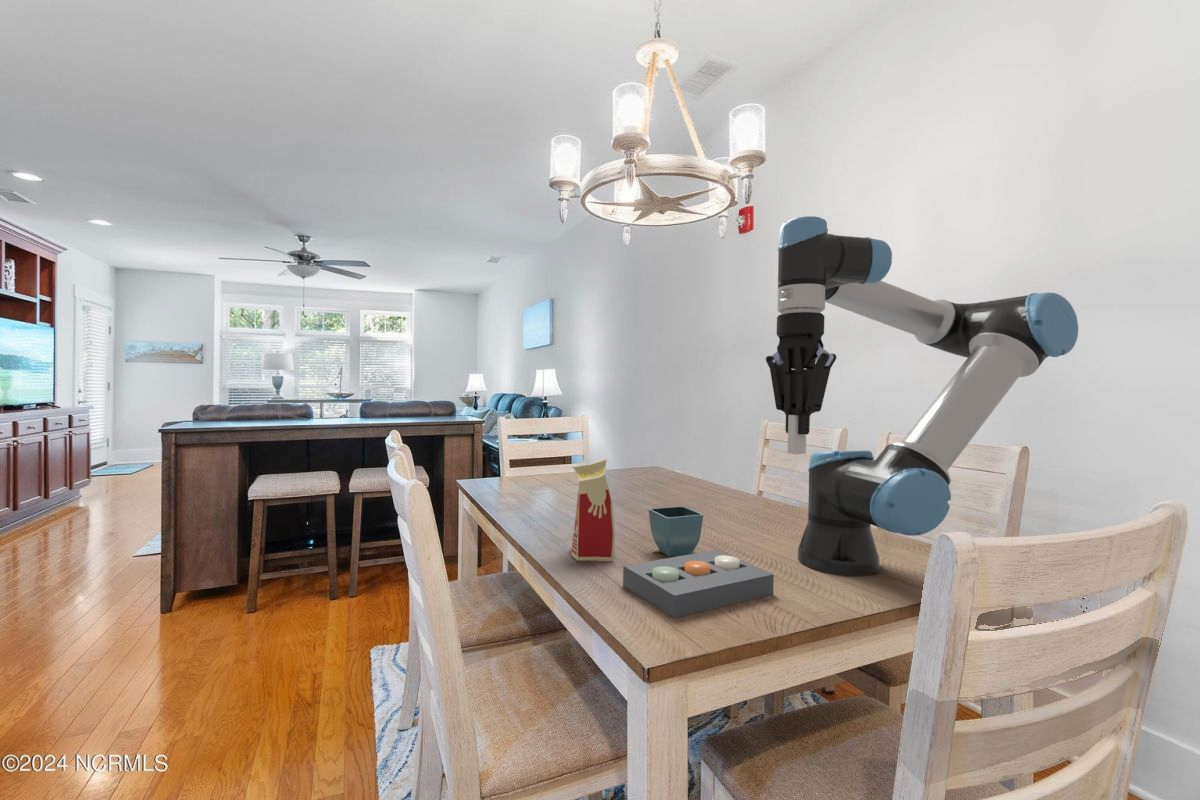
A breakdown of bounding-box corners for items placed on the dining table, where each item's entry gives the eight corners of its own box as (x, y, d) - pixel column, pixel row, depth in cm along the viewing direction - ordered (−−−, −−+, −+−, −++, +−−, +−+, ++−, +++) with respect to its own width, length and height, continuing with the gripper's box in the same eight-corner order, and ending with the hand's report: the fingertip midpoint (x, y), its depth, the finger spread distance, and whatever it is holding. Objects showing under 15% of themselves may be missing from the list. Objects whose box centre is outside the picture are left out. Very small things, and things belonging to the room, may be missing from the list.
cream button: (727, 568, 100) (728, 554, 100) (744, 575, 96) (745, 561, 96) (709, 571, 98) (709, 557, 98) (725, 579, 94) (726, 564, 94)
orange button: (698, 573, 97) (699, 559, 97) (715, 581, 93) (715, 566, 93) (679, 577, 95) (679, 562, 95) (695, 585, 91) (695, 570, 91)
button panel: (714, 567, 106) (715, 550, 106) (773, 594, 93) (773, 574, 92) (623, 585, 96) (623, 565, 95) (674, 618, 82) (674, 595, 82)
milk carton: (613, 547, 118) (614, 456, 117) (615, 561, 108) (617, 462, 108) (571, 547, 117) (572, 455, 117) (570, 561, 108) (571, 461, 108)
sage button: (668, 579, 94) (668, 564, 94) (683, 588, 90) (684, 572, 90) (647, 583, 92) (647, 568, 92) (662, 592, 88) (662, 576, 88)
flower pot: (646, 549, 117) (647, 508, 117) (682, 545, 120) (683, 505, 120) (665, 561, 109) (666, 517, 109) (703, 557, 112) (704, 514, 112)
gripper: (755, 315, 95) (752, 450, 95) (817, 307, 83) (813, 459, 84) (785, 318, 98) (782, 448, 99) (849, 310, 87) (845, 457, 87)
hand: (796, 453), depth 91 cm, fingers closed
